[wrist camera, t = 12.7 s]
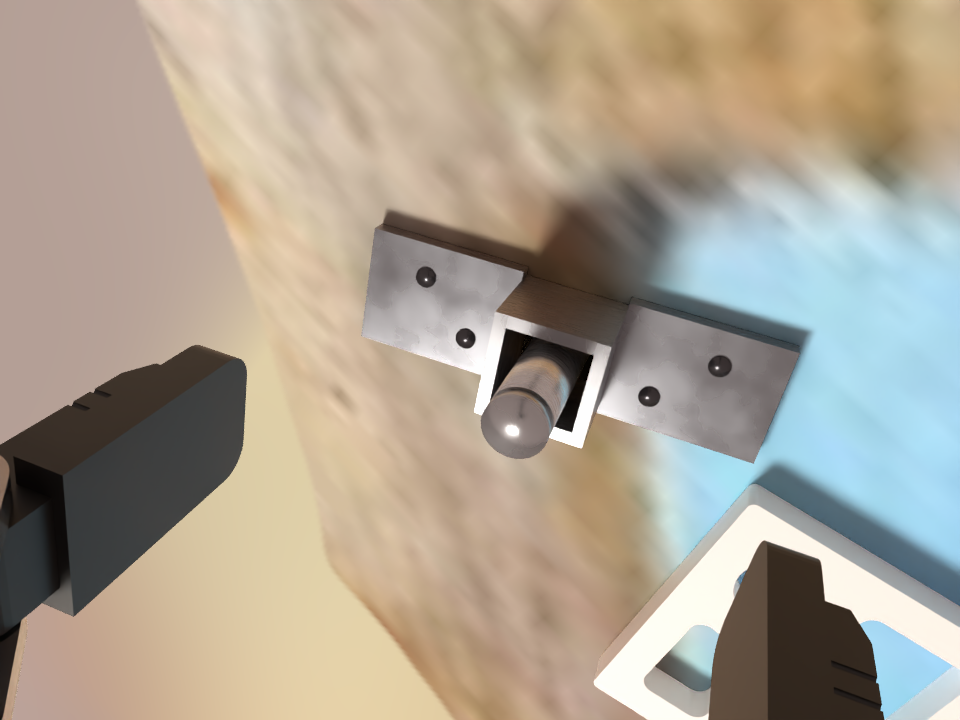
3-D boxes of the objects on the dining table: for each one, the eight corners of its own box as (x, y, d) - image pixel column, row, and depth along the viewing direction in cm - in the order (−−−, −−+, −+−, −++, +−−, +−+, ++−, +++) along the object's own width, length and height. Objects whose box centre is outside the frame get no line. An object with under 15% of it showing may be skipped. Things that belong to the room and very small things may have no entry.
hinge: (382, 223, 46) (334, 252, 41) (799, 345, 42) (804, 395, 37) (368, 330, 50) (322, 369, 45) (753, 454, 45) (752, 514, 40)
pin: (546, 304, 45) (488, 387, 36) (600, 321, 45) (555, 409, 35) (534, 353, 47) (475, 445, 37) (586, 370, 46) (540, 467, 37)
